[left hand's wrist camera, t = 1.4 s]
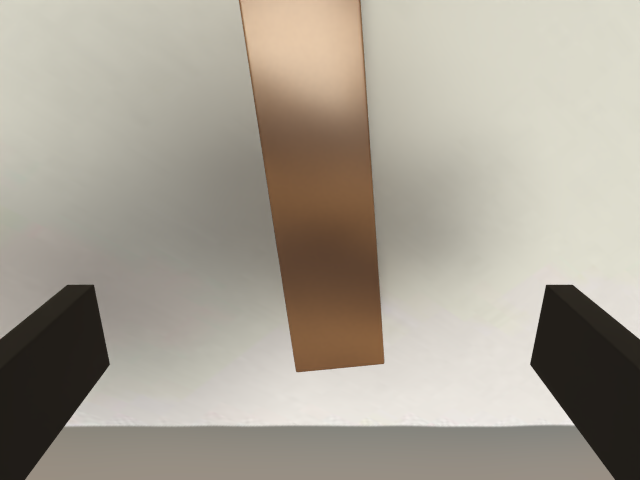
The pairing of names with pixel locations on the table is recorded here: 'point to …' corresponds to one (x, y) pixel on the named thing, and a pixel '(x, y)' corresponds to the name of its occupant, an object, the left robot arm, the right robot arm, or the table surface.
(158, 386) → the table surface
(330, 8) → the post
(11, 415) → the left robot arm
